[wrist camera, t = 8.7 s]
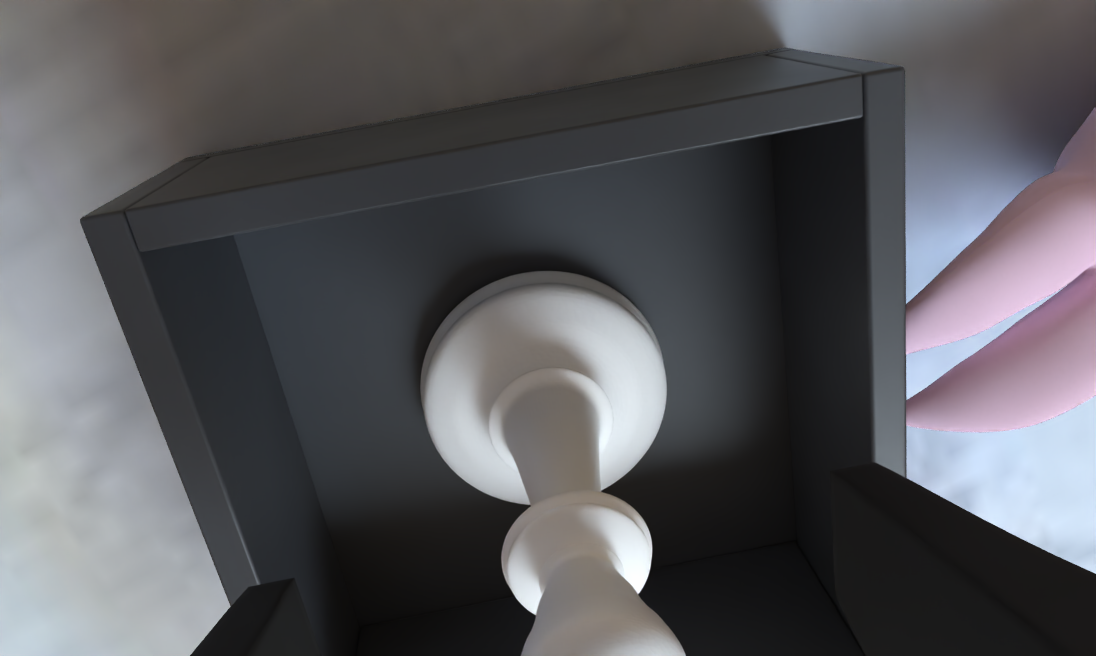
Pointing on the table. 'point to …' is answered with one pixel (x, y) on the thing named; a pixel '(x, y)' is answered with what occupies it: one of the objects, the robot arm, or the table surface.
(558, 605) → the chess piece
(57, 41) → the table surface
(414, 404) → the bin
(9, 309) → the table surface
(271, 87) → the table surface
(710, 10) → the table surface
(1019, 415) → the rabbit figure
